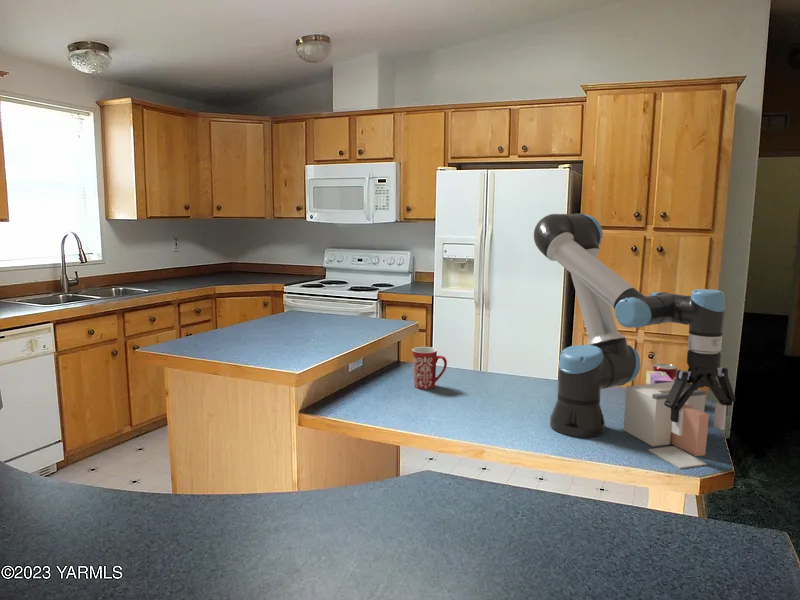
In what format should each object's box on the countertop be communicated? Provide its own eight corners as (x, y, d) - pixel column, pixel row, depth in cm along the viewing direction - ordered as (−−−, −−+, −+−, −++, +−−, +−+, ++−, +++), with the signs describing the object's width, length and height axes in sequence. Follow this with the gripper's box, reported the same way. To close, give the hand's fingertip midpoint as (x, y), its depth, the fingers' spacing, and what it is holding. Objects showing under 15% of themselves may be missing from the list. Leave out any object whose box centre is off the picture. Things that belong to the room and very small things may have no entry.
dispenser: (652, 446, 151) (656, 396, 149) (623, 429, 163) (626, 382, 160) (701, 440, 156) (706, 391, 153) (669, 424, 167) (673, 378, 165)
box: (670, 418, 172) (674, 381, 170) (650, 417, 173) (653, 379, 171) (662, 407, 182) (665, 371, 180) (643, 405, 183) (646, 370, 181)
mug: (407, 388, 199) (407, 350, 197) (417, 381, 207) (418, 345, 205) (440, 393, 194) (441, 355, 192) (450, 386, 202) (451, 349, 200)
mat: (679, 468, 138) (680, 467, 138) (648, 450, 148) (648, 449, 148) (706, 465, 140) (706, 463, 140) (673, 447, 151) (673, 446, 151)
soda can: (669, 398, 191) (672, 363, 189) (677, 405, 184) (681, 369, 182) (647, 397, 192) (650, 362, 190) (654, 404, 184) (657, 368, 183)
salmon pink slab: (695, 456, 145) (699, 415, 144) (662, 438, 157) (665, 400, 155) (705, 455, 146) (709, 414, 145) (671, 437, 158) (674, 399, 156)
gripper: (674, 357, 136) (668, 441, 139) (755, 350, 143) (748, 430, 146) (652, 350, 144) (647, 430, 147) (731, 344, 150) (724, 421, 153)
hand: (698, 431), depth 146 cm, fingers open, 13 cm apart
